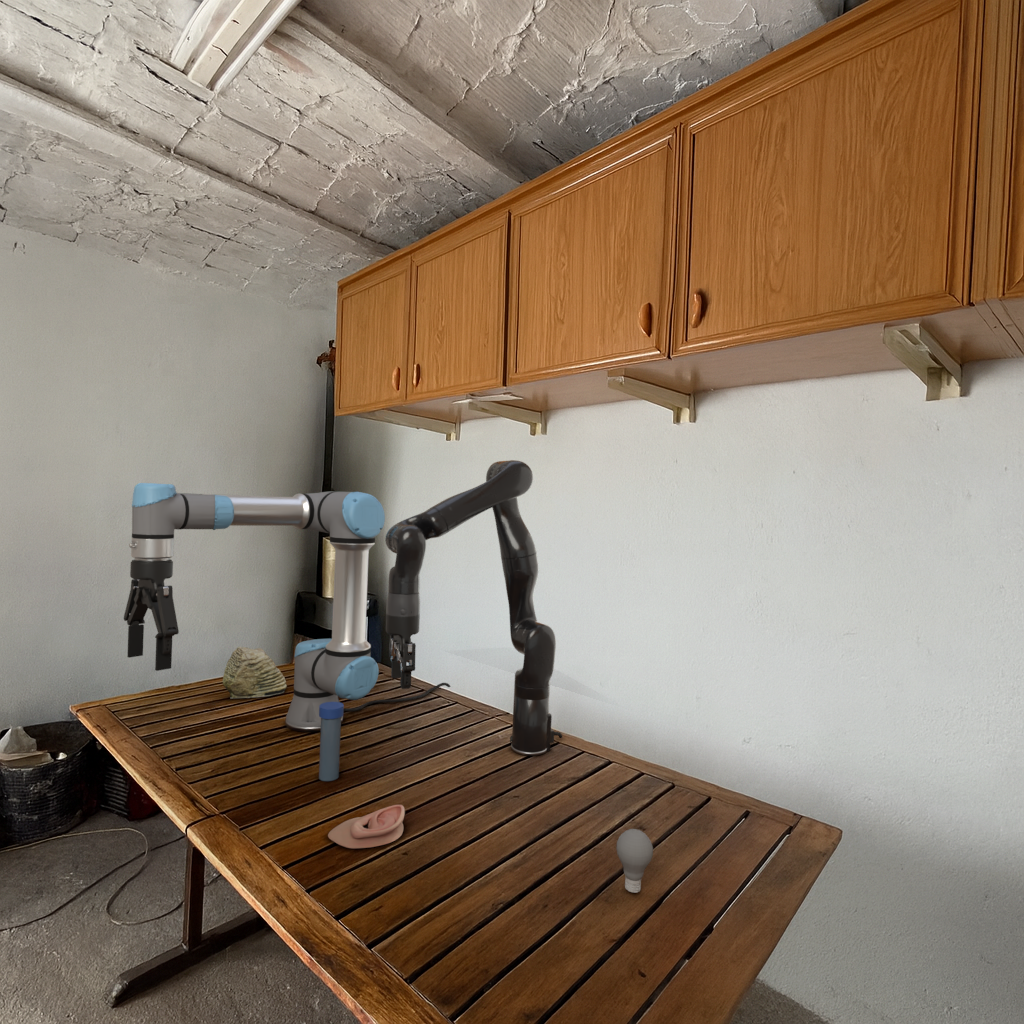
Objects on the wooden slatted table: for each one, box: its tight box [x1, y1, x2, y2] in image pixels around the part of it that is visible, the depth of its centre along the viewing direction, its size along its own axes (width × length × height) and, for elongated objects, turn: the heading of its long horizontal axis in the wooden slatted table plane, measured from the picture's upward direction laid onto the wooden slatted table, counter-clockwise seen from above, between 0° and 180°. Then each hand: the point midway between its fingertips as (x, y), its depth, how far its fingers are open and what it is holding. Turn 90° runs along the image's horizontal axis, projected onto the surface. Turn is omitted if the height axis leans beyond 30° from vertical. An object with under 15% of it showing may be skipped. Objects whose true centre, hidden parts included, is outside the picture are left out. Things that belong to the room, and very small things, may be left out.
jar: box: [318, 717, 342, 782], centre depth 143 cm, size 4×4×16 cm
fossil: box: [222, 646, 288, 699], centre depth 198 cm, size 9×18×15 cm, turn 132°
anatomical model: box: [327, 804, 406, 849], centre depth 120 cm, size 13×4×12 cm
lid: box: [319, 701, 345, 719], centre depth 143 cm, size 5×5×2 cm
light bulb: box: [615, 828, 654, 894], centre depth 106 cm, size 6×6×10 cm
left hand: (148, 662), depth 129 cm, fingers open, 13 cm apart
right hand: (400, 682), depth 144 cm, fingers open, 8 cm apart
